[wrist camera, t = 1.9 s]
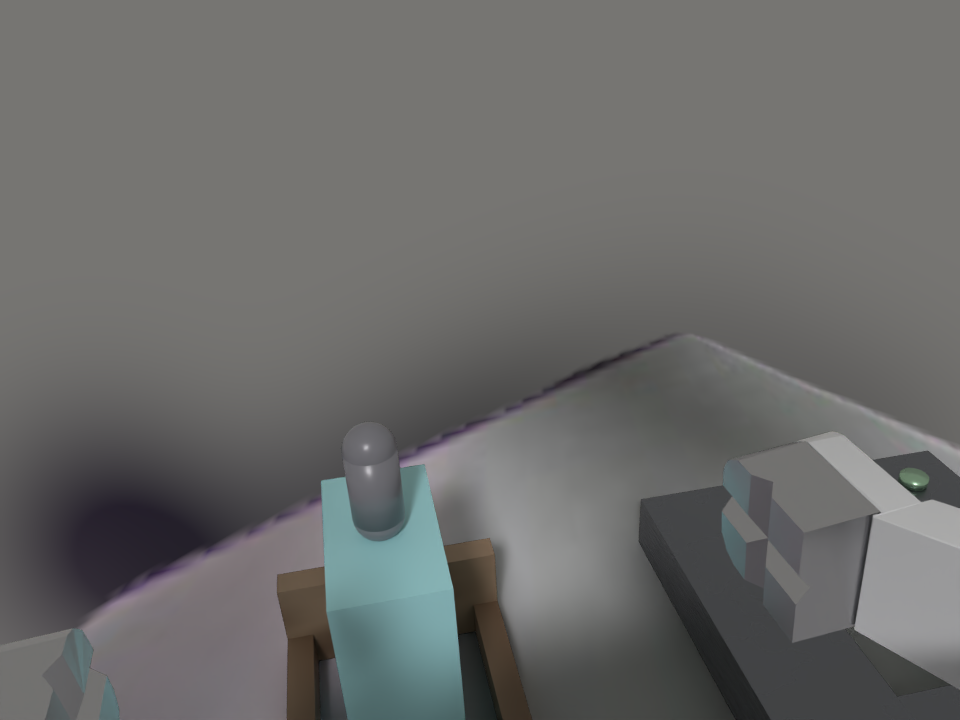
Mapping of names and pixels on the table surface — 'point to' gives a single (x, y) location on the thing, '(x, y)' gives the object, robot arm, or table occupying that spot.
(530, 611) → the table surface
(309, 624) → the open wooden frame
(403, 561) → the plug
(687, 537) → the port block
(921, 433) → the table surface
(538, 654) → the table surface
